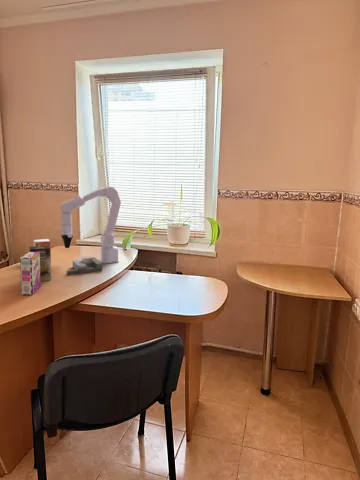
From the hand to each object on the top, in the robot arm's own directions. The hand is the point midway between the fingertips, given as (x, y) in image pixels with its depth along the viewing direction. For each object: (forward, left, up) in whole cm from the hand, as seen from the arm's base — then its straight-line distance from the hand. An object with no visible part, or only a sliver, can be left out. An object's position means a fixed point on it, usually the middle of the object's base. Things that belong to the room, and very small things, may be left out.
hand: (67, 247), depth 186 cm
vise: (-4, +14, -9) cm, 17 cm away
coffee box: (+18, +22, -10) cm, 30 cm away
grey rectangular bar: (-3, +14, -9) cm, 17 cm away
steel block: (-8, +12, -9) cm, 17 cm away
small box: (+12, -8, -10) cm, 17 cm away
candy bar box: (+24, +36, -10) cm, 44 cm away
